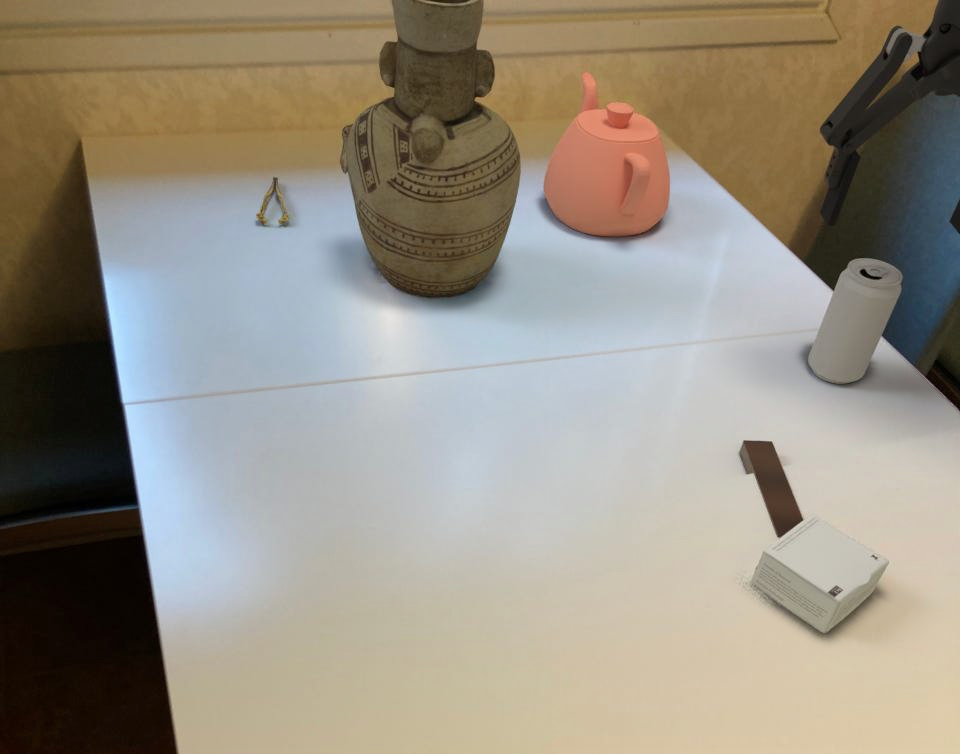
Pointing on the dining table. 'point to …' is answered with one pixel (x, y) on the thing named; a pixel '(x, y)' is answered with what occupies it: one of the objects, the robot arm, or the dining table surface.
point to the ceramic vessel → (433, 155)
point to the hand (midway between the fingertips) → (892, 224)
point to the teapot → (608, 170)
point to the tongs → (265, 201)
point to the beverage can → (855, 320)
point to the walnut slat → (772, 484)
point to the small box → (818, 572)
